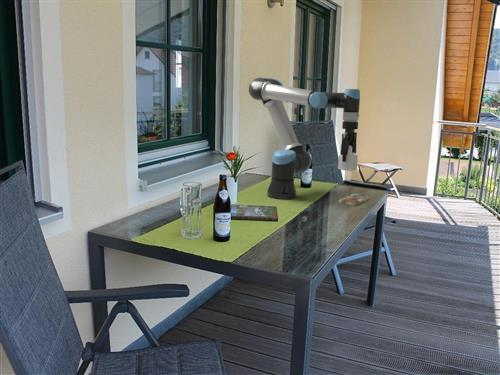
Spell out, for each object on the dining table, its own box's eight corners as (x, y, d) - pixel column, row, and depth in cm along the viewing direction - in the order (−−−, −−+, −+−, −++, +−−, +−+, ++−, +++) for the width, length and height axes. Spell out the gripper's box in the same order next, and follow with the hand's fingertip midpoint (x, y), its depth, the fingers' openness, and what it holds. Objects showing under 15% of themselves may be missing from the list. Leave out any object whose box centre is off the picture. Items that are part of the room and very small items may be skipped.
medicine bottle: (343, 167, 251) (345, 144, 249) (356, 169, 247) (358, 145, 245) (337, 169, 245) (339, 145, 243) (350, 171, 241) (352, 146, 239)
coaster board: (337, 202, 247) (338, 199, 247) (352, 196, 264) (353, 192, 264) (354, 205, 243) (355, 202, 242) (369, 198, 259) (369, 195, 259)
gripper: (349, 122, 231) (346, 170, 236) (365, 120, 248) (361, 165, 252) (335, 121, 235) (332, 168, 240) (351, 119, 252) (348, 164, 256)
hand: (347, 167), depth 246 cm, fingers closed on medicine bottle, 7 cm apart
